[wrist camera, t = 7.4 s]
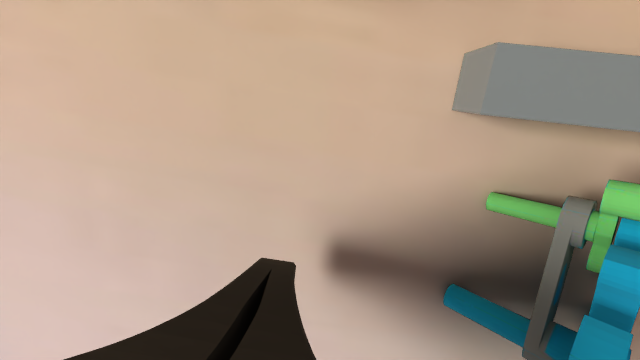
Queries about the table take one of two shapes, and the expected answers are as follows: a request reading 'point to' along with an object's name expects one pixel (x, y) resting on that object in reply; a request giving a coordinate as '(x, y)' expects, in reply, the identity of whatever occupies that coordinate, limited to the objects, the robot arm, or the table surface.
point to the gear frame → (551, 86)
